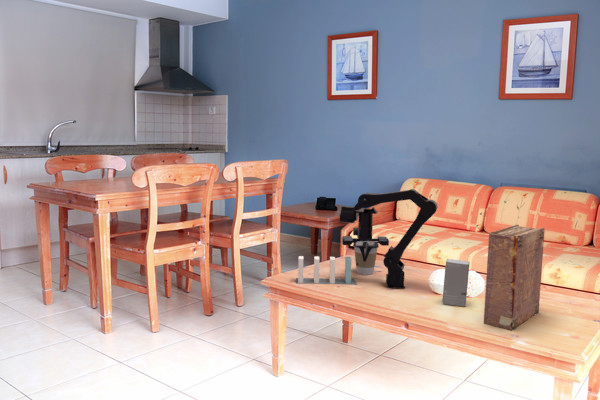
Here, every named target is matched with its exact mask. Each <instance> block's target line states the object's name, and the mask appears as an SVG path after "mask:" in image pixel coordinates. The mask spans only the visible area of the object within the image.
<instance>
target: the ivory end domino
mask: <svg viewBox="0 0 600 400" xmlns="http://www.w3.org/2000/svg"><path fill="white" fill-rule="evenodd" d="M304 260H305V259H304V256H303V255H299V256H298V265H297V266H298V267H297V268H298V274H297V275H298V276H297V278H298V283H303V278H304Z"/></svg>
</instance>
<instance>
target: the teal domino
mask: <svg viewBox="0 0 600 400" xmlns="http://www.w3.org/2000/svg"><path fill="white" fill-rule="evenodd" d="M344 263H345V264H344V266H345V267H344V279H345V283H346V284H351V279H352V258H351V256H345V262H344Z"/></svg>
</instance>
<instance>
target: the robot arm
mask: <svg viewBox="0 0 600 400" xmlns="http://www.w3.org/2000/svg"><path fill="white" fill-rule="evenodd" d="M408 200H409V201H410V202H412V203H414V204H415V205H416V206H417V207H419V208H420V209H419V211H418V213H417V216H416V218H415V219H414V221H412V224H411V225H410V226H409V228H408V229H407V231H406V232H405V233H404V235H403V236H402V238H401V239H400V241H399V242H398V243H397V244H396V245H395V246H392V245H391V246H390V247H389V248H388V250H387V251H386V252H385V253H384V255H383V257H384V258H383V261H382V262H383V265H384V266H385V267H386V268H387V273H386V275H385V284H386V287H388V289H405V288H406V287H405V271H404V268H405V266H406V264H404V262H402V260H401V259H402V256H403V255H404V252H405V251H406V248H408V246H409V245H410V243H411V241H412V240H413V239H414V238H415V236H416V235H417V234H418V232H419V231H420V229H421V228H422V227H423V225H424V224H425V223H427V221H429V219H431V218H432V217H433V216H434V215H435V214H436V212H437V211H438V203H437V202H436V201H435V200H433V199H429V198H427V197H426V196H425V195H423V194H421V193H420V192H418V191H417V190H416V189H414V188H410V189H406V190H400V191H399V190H398V191H392V192H384V193H378V192H365V193H362V194H360V196H358V199H357V202H356V204H355V205H354V206H347V205H342V206H341V209H340V214H339V222H340V223H343V224H344V223H345V224H355V223H356V222H357V221H358V227H352V235H353V236H356V237H352V236H351V235H343V236H342V237H341V243H342V245H343V246H351V245H353V243H356V247H359V249H360V251H361V254H362V258H363V261H364V262H366V260H367V257H368V255H369V252H370V251H371V249H372V248H373V247H375V246H374V243H378V244H379V245H380V246H389V245H390V240H389V238H388V237H387V236H377V238H373V226H374V225H373V219H374V216H373V215H374V214H377V213H379V211H378V210H377V209H376V208H375V206H377V205H380V204H386V203H393V202H401V201H408ZM371 207H372V208H371ZM361 209H363V210H361ZM363 243H366V250H365V253H364V245H363Z"/></svg>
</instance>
